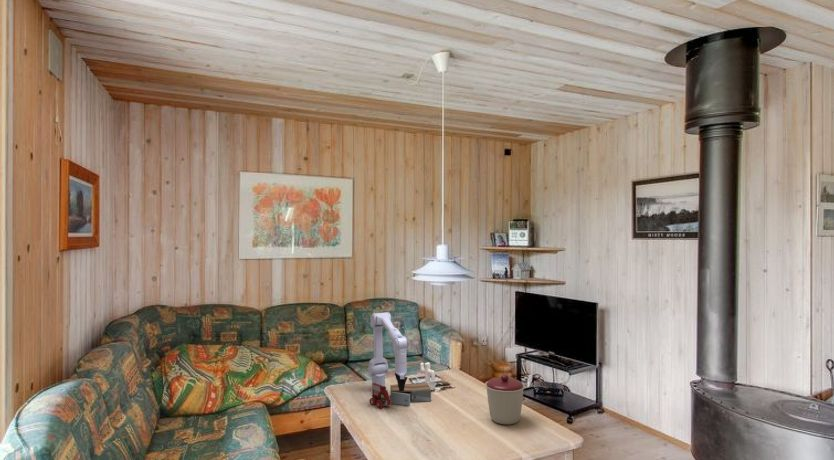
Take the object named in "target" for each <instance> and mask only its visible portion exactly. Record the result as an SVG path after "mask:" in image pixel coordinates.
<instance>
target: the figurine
mask: <svg viewBox="0 0 834 460" xmlns="http://www.w3.org/2000/svg"><path fill="white" fill-rule="evenodd" d="M419 365H420V366H419V370H420V373H421V374H424V381H422V382H421V383H428V385H429V387H430V390H432V391H433V390H434V389H435V387H436V386H437V384H438V383H437V382H434V381H435V380H436V372H435V370H433V369H431V362H429V361H428V362H427V361H426V362H425V363H424V362H420V364H419Z"/></svg>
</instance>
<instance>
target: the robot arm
mask: <svg viewBox="0 0 834 460" xmlns="http://www.w3.org/2000/svg"><path fill="white" fill-rule="evenodd" d="M369 317H370V327H371V328H372V330H373V331H372V332H373V333H372V335H373V339H372V340H373V357H372V358H371V359H370V360H369V361H368V367H367V368H368V374H369V375H370V377H371V385H372V384H373V383H376V384H379V385H382V386H385V387H386V376H387V374H388V372H389V365H388V360H387V359H386V358H385V357H384V351H383V349H384V347H383V346H384V344H383V328H385V329H386V330H387V335H388V337H389V338H390V340H391V342H392V348H393V352H394V370H392V373H393V374H394V375H395V380H396V382H397V384H398V387H399V391H404V387H405V384H407V383H406V382H407V380H408V376H406V375H407V373H408V370H407V369H408V368H407V365H408V364H407V360H408V359H407V349H408V348H409V343H410V341H409V339H408V337H407V336H404V335H402V333H401V331H400V330H399V329H398V328H397V327H395V326H394V324H393V322H392V315H391V313H390V312H389V311H385V312H375V313H374V312H373V313H372V314H371V315H370V316H369ZM370 394H371V395H372V387H370Z"/></svg>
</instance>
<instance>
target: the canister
mask: <svg viewBox="0 0 834 460" xmlns="http://www.w3.org/2000/svg"><path fill="white" fill-rule="evenodd" d="M484 386H485V388H486V395H487V404H488V409H489V410H488V411H489V415H490V418H491V420H492V421H493V422H494V423H496V424H500V425H505V426H508V425H514V424H516V423H518V422H519V421H520V418H521V415H522V407H523V399H524V398H523V396H524V390H525V388H526V384H525V383H523V382H522V381H520V380H519V379H516V378H513V377H509V375H508V374H506V373H504V374H501V375H500V376H499V377H493V378H490V379H489V380H487V381H486V382H485V383H484Z"/></svg>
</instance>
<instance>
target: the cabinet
mask: <svg viewBox="0 0 834 460" xmlns="http://www.w3.org/2000/svg"><path fill="white" fill-rule="evenodd" d="M389 386H390V387H389V390H390V395H389V396H390V400H391V402H392V392H398V393H405V394H410V403H411V402H412V403H421V402H431V401H432V391H431V390H430V387H429V385H428V383H422V382H415V383H405V387H404V391H399V387H398V383H397V384H390V385H389Z"/></svg>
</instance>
